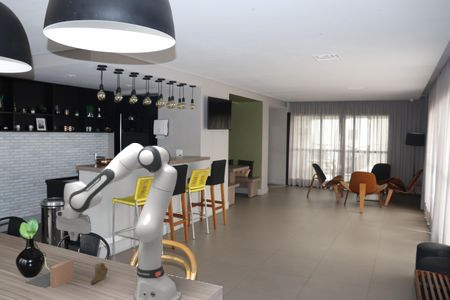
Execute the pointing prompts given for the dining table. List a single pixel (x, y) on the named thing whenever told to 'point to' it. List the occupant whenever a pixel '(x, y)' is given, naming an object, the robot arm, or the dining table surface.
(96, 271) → the pottery shard
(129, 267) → the dining table surface
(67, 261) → the tile
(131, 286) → the dining table surface
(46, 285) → the mat
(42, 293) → the dining table surface
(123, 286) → the dining table surface
